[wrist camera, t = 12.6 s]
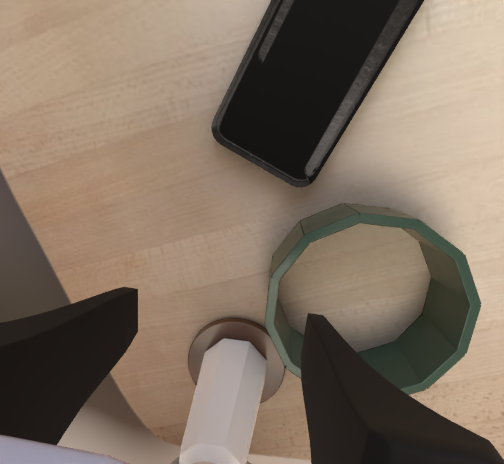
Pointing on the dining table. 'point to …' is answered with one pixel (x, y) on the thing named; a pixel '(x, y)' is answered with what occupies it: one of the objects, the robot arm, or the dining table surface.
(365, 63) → the phone
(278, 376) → the coaster
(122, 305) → the robot arm
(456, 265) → the green polygonal ring
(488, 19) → the dining table surface
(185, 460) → the salt shaker
